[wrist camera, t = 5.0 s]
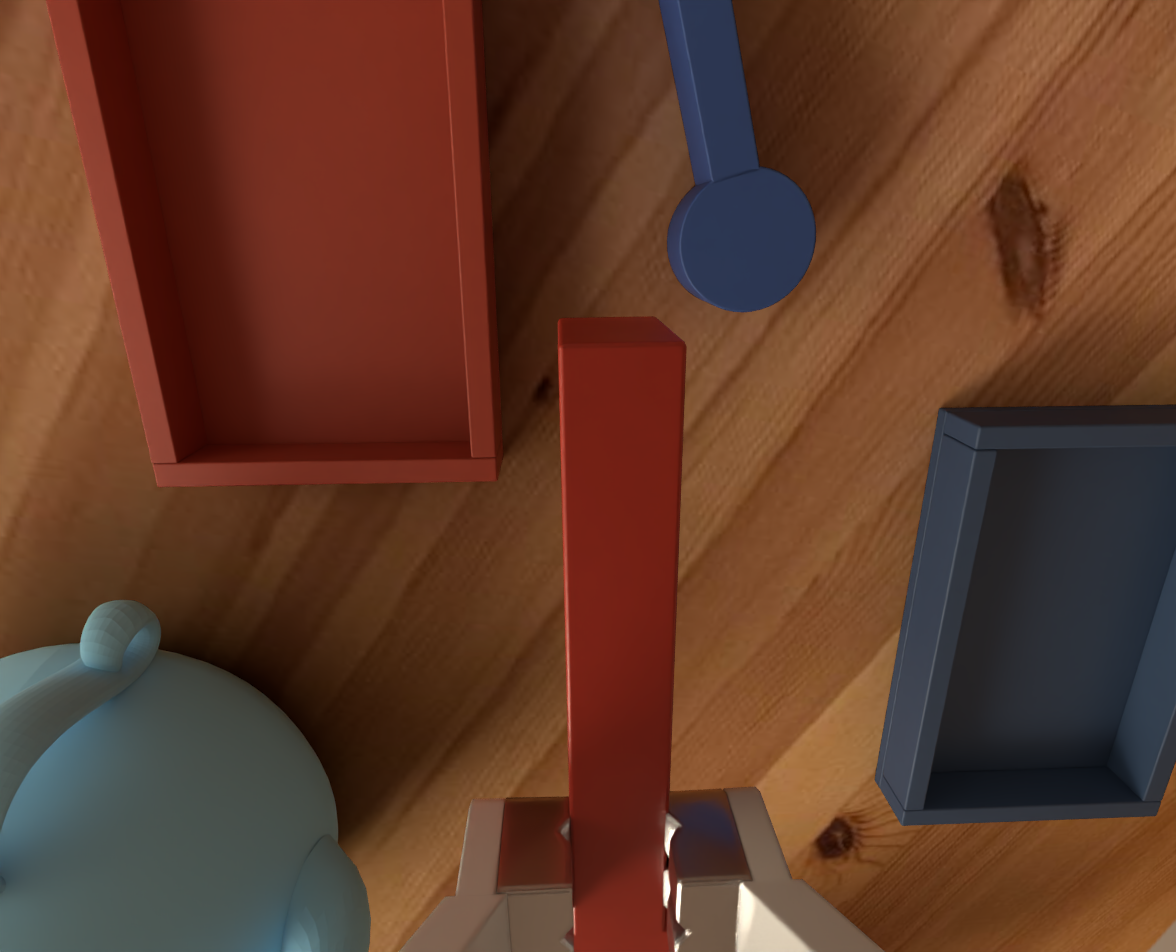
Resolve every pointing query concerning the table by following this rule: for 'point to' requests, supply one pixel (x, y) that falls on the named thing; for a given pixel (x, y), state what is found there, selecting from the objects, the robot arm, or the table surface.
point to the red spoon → (620, 616)
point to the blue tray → (1038, 620)
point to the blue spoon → (729, 174)
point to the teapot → (162, 806)
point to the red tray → (295, 232)
